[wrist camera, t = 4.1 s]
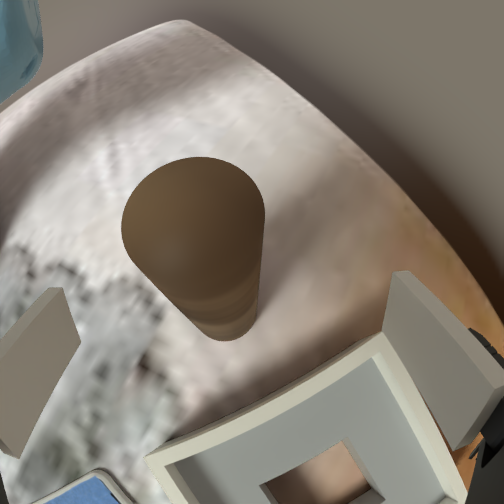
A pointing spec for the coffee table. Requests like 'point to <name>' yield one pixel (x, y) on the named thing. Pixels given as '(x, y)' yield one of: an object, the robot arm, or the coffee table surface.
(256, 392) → the coffee table surface
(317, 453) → the tray
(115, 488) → the blue rectangular panel
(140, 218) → the peg
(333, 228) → the coffee table surface
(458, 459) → the coffee table surface
